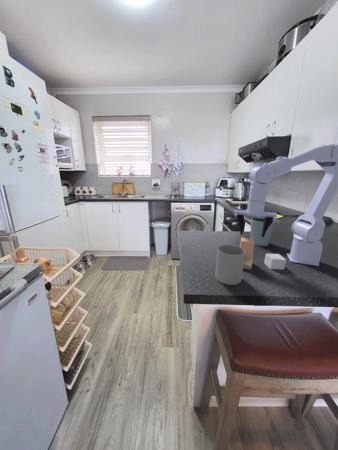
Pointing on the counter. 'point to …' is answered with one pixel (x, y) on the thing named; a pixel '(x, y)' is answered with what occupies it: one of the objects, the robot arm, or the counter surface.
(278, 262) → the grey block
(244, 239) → the terracotta block
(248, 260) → the oak base block
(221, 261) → the cup
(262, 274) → the counter surface
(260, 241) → the teal round container
